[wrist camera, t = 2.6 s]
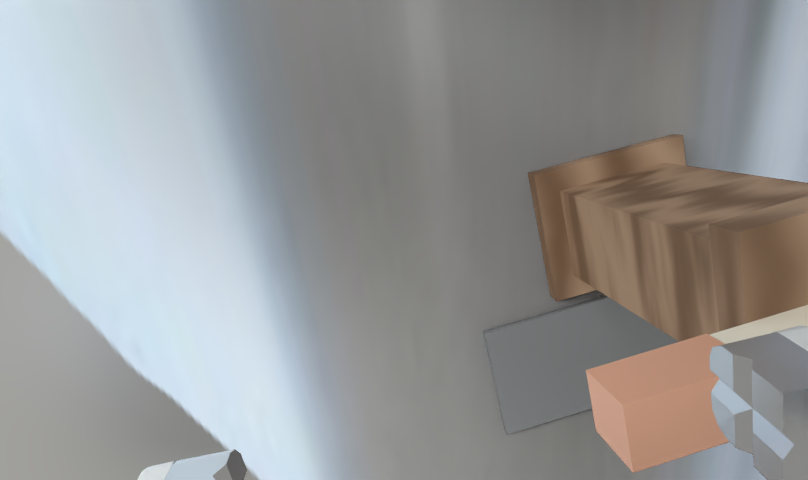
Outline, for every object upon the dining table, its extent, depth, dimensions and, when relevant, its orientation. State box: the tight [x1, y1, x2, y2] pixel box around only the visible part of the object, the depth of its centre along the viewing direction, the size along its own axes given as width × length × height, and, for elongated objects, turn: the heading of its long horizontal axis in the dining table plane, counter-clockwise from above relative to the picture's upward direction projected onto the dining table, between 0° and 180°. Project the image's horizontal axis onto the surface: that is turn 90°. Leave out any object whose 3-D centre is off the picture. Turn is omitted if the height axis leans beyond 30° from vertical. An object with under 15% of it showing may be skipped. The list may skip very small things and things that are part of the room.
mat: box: [484, 296, 679, 435], centre depth 55 cm, size 22×11×1 cm, turn 104°
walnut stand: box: [528, 134, 808, 342], centre depth 40 cm, size 14×12×26 cm
